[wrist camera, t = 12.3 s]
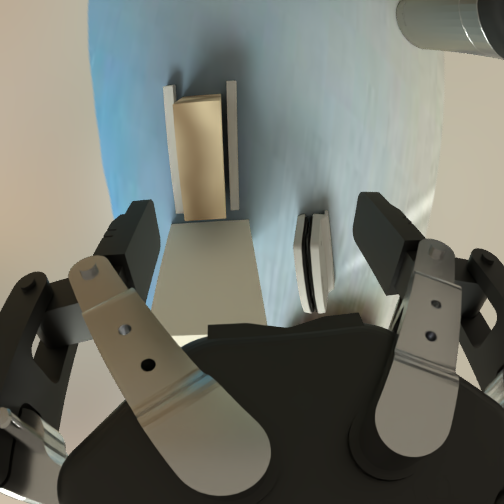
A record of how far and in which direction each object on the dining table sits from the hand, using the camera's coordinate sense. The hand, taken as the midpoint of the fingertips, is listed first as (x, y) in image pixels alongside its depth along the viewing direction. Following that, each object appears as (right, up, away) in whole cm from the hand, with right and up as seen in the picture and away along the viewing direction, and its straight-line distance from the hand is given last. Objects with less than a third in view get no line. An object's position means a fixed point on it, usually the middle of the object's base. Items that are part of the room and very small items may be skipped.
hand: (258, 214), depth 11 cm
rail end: (-7, +13, +28) cm, 31 cm away
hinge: (+10, -2, +40) cm, 42 cm away
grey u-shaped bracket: (-7, +10, +30) cm, 32 cm away
